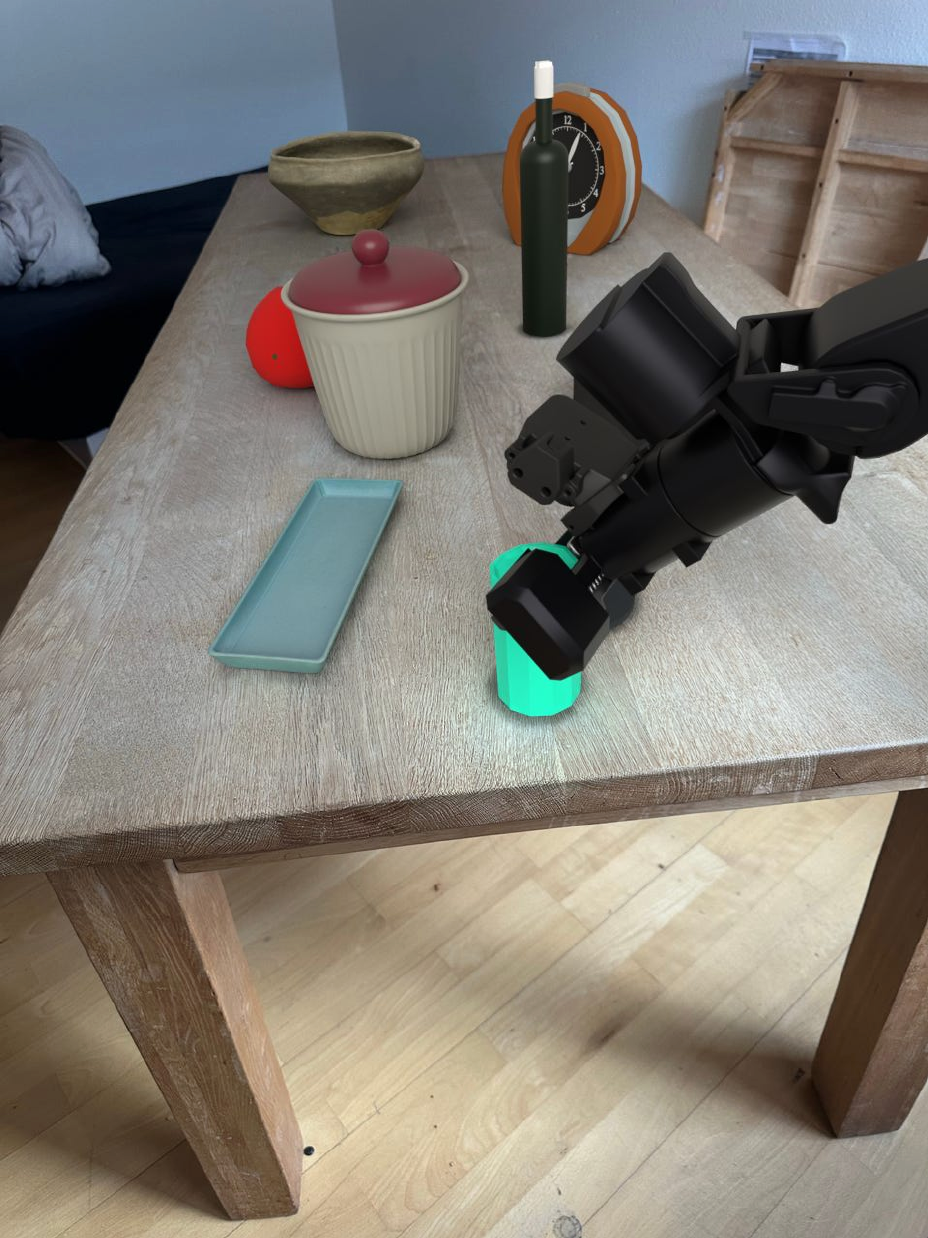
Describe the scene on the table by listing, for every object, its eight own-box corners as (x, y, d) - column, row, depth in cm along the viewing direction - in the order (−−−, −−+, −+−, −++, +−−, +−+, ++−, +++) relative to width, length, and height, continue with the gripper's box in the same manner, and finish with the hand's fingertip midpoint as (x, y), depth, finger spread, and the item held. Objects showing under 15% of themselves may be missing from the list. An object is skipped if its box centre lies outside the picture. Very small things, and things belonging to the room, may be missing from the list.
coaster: (658, 604, 67) (659, 598, 66) (570, 651, 63) (570, 645, 63) (583, 553, 73) (584, 547, 72) (499, 593, 69) (499, 587, 69)
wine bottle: (536, 318, 116) (534, 57, 97) (573, 324, 113) (579, 57, 94) (514, 332, 112) (508, 64, 93) (552, 339, 109) (553, 65, 90)
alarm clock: (495, 241, 144) (489, 86, 130) (528, 226, 150) (525, 76, 136) (609, 258, 133) (616, 91, 119) (639, 241, 139) (649, 79, 125)
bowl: (311, 260, 143) (295, 167, 134) (259, 225, 162) (243, 142, 153) (456, 227, 152) (450, 139, 143) (391, 199, 171) (382, 119, 162)
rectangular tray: (317, 494, 83) (312, 472, 82) (407, 498, 82) (404, 475, 80) (212, 678, 63) (203, 653, 62) (328, 687, 62) (322, 662, 60)
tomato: (291, 427, 102) (360, 387, 110) (321, 351, 92) (394, 313, 100) (215, 356, 102) (290, 321, 111) (238, 272, 92) (318, 241, 101)
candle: (511, 725, 57) (503, 585, 50) (486, 669, 62) (475, 532, 54) (594, 704, 58) (598, 563, 51) (563, 650, 63) (563, 513, 55)
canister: (499, 407, 95) (491, 206, 82) (442, 489, 82) (421, 265, 69) (355, 393, 101) (326, 202, 87) (281, 467, 88) (232, 256, 74)
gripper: (664, 305, 49) (505, 441, 61) (512, 448, 37) (351, 584, 49) (780, 452, 51) (604, 557, 62) (670, 635, 39) (478, 722, 50)
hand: (517, 597), depth 56 cm, fingers closed on candle, 5 cm apart
